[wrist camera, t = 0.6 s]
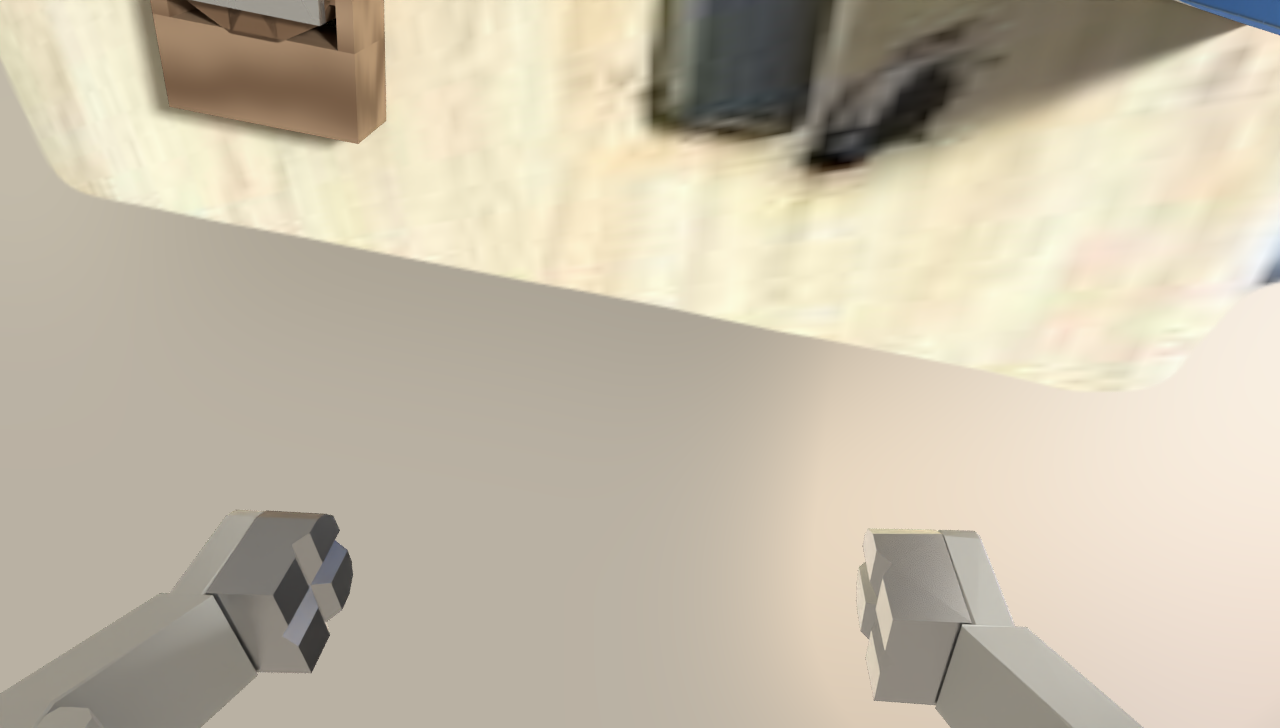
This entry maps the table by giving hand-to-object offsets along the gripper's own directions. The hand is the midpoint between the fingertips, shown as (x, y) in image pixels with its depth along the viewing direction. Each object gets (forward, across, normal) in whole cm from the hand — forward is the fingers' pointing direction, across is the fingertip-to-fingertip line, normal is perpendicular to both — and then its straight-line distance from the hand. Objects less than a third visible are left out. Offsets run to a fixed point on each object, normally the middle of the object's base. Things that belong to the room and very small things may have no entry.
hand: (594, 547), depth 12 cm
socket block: (+43, +25, -3) cm, 50 cm away
